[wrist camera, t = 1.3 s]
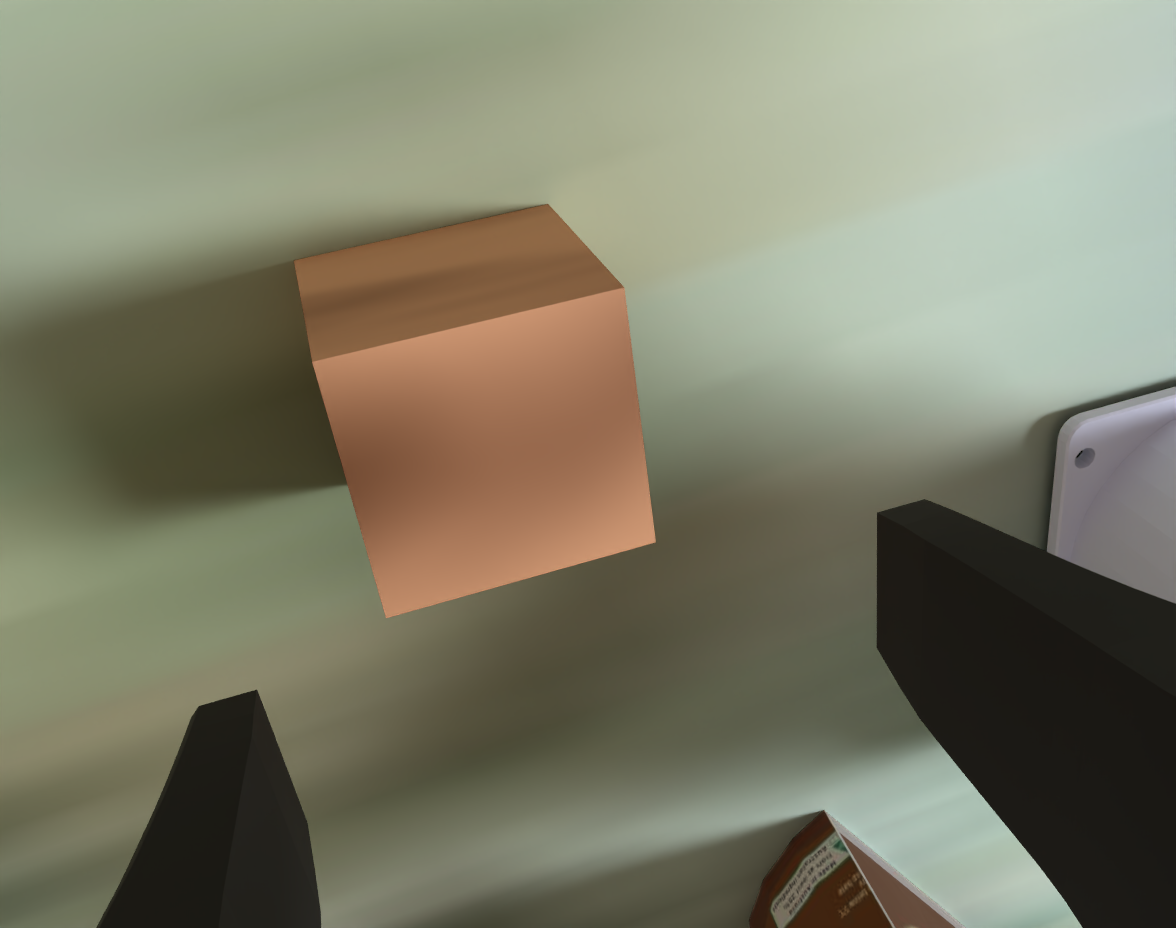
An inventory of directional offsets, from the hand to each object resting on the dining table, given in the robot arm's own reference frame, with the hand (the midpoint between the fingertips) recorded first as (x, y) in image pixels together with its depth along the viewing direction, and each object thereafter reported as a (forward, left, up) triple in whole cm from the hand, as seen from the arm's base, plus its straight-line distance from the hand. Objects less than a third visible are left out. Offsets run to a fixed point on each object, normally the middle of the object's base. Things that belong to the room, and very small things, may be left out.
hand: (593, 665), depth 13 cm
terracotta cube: (0, 0, -10) cm, 10 cm away
